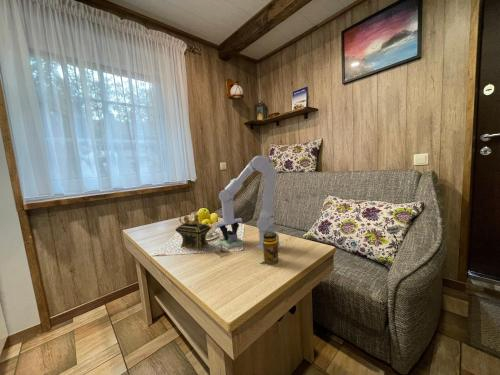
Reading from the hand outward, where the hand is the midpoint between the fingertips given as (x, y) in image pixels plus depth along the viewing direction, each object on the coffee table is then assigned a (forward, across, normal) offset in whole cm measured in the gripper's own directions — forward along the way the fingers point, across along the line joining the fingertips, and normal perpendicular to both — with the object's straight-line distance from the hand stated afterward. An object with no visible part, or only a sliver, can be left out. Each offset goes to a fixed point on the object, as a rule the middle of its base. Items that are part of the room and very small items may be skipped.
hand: (230, 238), depth 112 cm
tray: (+3, 0, 0) cm, 3 cm away
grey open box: (+1, 0, 0) cm, 1 cm away
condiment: (+3, -4, +28) cm, 29 cm away
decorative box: (+3, +16, -12) cm, 20 cm away
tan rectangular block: (+3, +8, +8) cm, 12 cm away
